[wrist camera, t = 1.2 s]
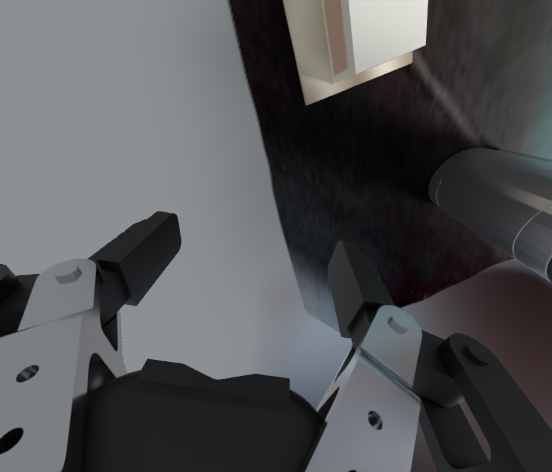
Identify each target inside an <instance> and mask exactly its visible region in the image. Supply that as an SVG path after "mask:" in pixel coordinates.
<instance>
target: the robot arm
mask: <svg viewBox="0 0 552 472" xmlns="http://www.w3.org/2000/svg"><path fill="white" fill-rule="evenodd" d="M428 195H429V198H430V200H431V201H432V202H433V203H434V204H436V205H437V206H439V207H440V208H441V209H443V210H444V211H446V212H447V213H449V214H450V215H451V216H453V217H454V218H456V219H457V220H459V221H460V222H462V223H463V224H465V225H466V226H468V227H469V228H471V229H472V230H474V231H475V232H477V233H478V234H480V235H481V236H483V237H484V238H486V239H487V240H489V241H490V242H492V243H493V244H495V245H496V246H498V247H499V248H501V249H502V250H503V251H505V252H506V253H508V254H509V255H511V256H512V257H514V258H515V259H517V260H518V261H520V262H522V263H523V264H525V265H526V266H527V267H529V268H531V269H532V270H533V271H535V272H536V273H538V274H539V275H541V276H542V277H544V278H545V279H547V280H548V281H550V282H552V160H550V159H546V158H541V157H536V156H531V155H526V154H522V153H517V152H512V151H507V150H502V149H501V150H498V151H497V150H492V149H487V148H480V147H478V148H470V149H467V150H463V151H461V152H459V153H457V154H455V155H453V156H452V157H450V158H449V159H447V160H446V161H445V162H444V163H443V164H442V165H441V166H440V167H439V168H438V169H437V170H436V172H435V173H434V175H433V176H432V178H431V180H430V183H429V187H428ZM180 247H181V235H180V229H179V222H178V217H177V215H176V214H174V213H168V212H162V211H157V212H156V213H154V214H153V215H152V216H151V217H149V218H148V219H147V220H146V219H145V220H143V221H140V222H138V223H135V224H133V225H132V226H131V227H129V228H128V229H127V230H125V232H123V233H121V234H120V235H119V236H117V238H115V239H113V240H112V241H111V242H109V243H108V244H107V245H105V246H104V247H103V248H101V249H100V250H99V251H98V252H96V253H95V254H93V255H92V256H91V257H90V258H88V259H74V260H68V261H64V262H61V263H58V264H56V265H54V266H52V267H50V268H48V269H46V270H45V271H44V272H42V273H41V274H32V275H19V276H15V275H14V274H13V273H12V271H11V270H10V269H9V268H8V267H7V266H6V265H3V264H0V472H410V471H411V464H412V458H413V451H414V445H415V439H416V432H417V425H418V420H419V423H420V425H421V428H422V431H423V433H424V436H425V439H426V442H427V444H428V447H429V450H430V453H431V456H432V458H433V461H434V464H435V467H436V470H437V472H552V429H551V428H550V427H549V425H548V424H547V423H546V422H545V420H544V419H543V418H542V416H541V415H540V414H539V413H538V411H537V410H536V408H535V407H534V406H533V405H532V403H531V402H530V401H529V399H527V397H526V395H525V394H524V393H523V391H522V390H521V389H520V388H519V387H518V385H517V384H516V382H515V381H514V380H513V378H512V377H511V376H510V375H509V373H508V372H507V371H506V369H505V368H504V367H503V366H502V364H501V363H500V362H499V360H498V359H497V358H496V357H495V355H494V354H493V353H492V352H491V351H490V350H488V349H487V348H486V347H485V346H484V345H482V344H481V343H479V342H478V341H476V340H475V339H473V338H471V337H469V336H466V335H464V334H459V333H455V334H452V335H451V336H450V337H448V338H447V339H446V340H444V339H442V338H439V337H437V336H435V335H432V334H430V333H428V332H425V331H423V330H421V329H420V327H419V325H418V324H417V322H416V321H415V320H414V319H413V318H412V317H411V316H410V315H409V314H408V313H407V312H405V311H404V310H402V309H400V308H398V307H395V305H394V303H393V301H392V299H391V297H390V295H389V293H388V291H387V290H386V288H385V286H384V284H383V282H382V280H380V276H379V274H378V273H377V270H376V268H375V266H374V264H373V262H372V261H371V260H369V259H368V258H367V257H366V256H365V255H363V254H361V253H360V250H359V248H358V246H357V244H356V243H352V242H346V241H339V242H338V243H337V246H336V248H335V251H334V253H333V256H332V258H331V260H330V263H329V266H328V278H329V282H330V287H331V292H332V296H333V301H334V305H335V310H336V315H337V319H338V324H339V329H340V333H341V337H346V338H351V340H352V343H353V345H352V346H351V348H350V350H349V351H348V353H347V355H346V357H345V359H344V361H343V363H342V365H341V367H340V369H339V370H338V372H337V374H336V376H335V378H334V380H333V382H332V383H331V385H330V387H329V389H328V390H327V392H326V394H325V395H324V397H323V398H322V400H321V402H320V403H319V405H318V407H317V409H316V410H315V409H314V407H312V405H311V404H310V403H309V402H307V401H306V400H305V399H304V398H303V397H302V396H300V395H299V394H297V393H295V392H294V391H292V390H290V388H289V387H290V379H289V378H282V377H274V376H268V375H261V374H251V375H245V376H239V377H233V378H226V379H220V380H217V379H213V378H211V377H209V376H207V375H205V374H203V373H201V372H199V371H197V370H194V369H193V368H190V367H189V366H187V365H185V364H181V363H173V362H167V361H159V360H152V359H147V361H146V362H145V364H144V366H143V368H142V369H141V370H139V371H135V372H131V373H128V374H127V372H126V368H125V364H124V361H123V355H122V332H121V313H120V311H119V310H120V308H121V307H122V306H123V305H124V304H127V305H133V306H137V305H138V304H139V302H140V301H141V300H142V298H143V297H144V296H145V294H146V293H147V292H148V290H149V289H150V288H151V287H152V285H153V284H154V283H155V281H156V280H157V279H158V277H159V276H160V275H161V274H162V272H163V271H164V270H165V268H166V267H167V266H168V265H169V263H170V262H171V261H172V259H173V258H174V257H175V255H176V254H177V253H178V251H179V249H180ZM464 400H465V401H466V403H467V404H468V406H469V408H470V410H471V412H472V413H473V415H474V417H475V419H476V421H477V423H478V425H479V426H480V428H481V430H482V432H483V434H484V436H485V437H486V439H487V441H488V444H489V446H490V450H491V460H490V462H489V461H488V459H487V457H486V455H485V453H484V451H483V449H482V448H481V446H480V444H479V442H478V440H477V438H476V436H475V434H474V432H473V430H472V429H471V426H470V424H469V422H468V421H467V419H466V417H465V415H464V413H463V411H462V409H461V407H460V405H459V403H460V402H462V401H464Z"/></svg>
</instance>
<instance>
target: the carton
mask: <svg viewBox="0 0 552 472" xmlns="http://www.w3.org/2000/svg"><path fill="white" fill-rule="evenodd" d="M321 4H322V10H323V17H324V24H325V30H326V37H327V44H328V51H329V57H330V64H331V71H332V78H333V84H335V83H337V82H340V81H342V80H345V79H347V78H349V77H352V76H354V75H357V74H359V73H361V72H364V71H366V70H368V69H371V68H373V67H376V66H378V65H380V64H383V63H385V62H387V61H390V60H392V59H394V58H397V57H399V56H401V55H404V54H406V53H408V52H411V51H413V50H415V49H418V48H420V47H422V46H425V45H426V25H427V6H428V0H321Z"/></svg>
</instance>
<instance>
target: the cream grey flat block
mask: <svg viewBox="0 0 552 472" xmlns="http://www.w3.org/2000/svg"><path fill="white" fill-rule="evenodd" d="M282 1H283V5H284V10H285V14H286V19H287V23H288V28H289V32H290V37H291V41H292V46H293V50H294V55H295V59H296V64H297V68H298V73H299V78H300V82H301V87H302V91H303V96H304V100H305V105H306V106H307V105H309V104H312V103H314V102H317V101H319V100H321V99H324V98H326V97H329V96H331V95H334V94H336V93H339V92H341V91H344V90H346V89H349V88H351V87H353V86H356V85H358V84H361V83H363V82H366V81H368V80H371V79H373V78H376V77H378V76H381V75H383V74H385V73H388V72H390V71H393V70H395V69H398V68H400V67H403V66H405V65H408V64H410V63H412V51H411V52H408V53H406V54H404V55H401V56H399V57H397V58H394V59H392V60H390V61H387V62H385V63H383V64H380V65H378V66H376V67H373V68H371V69H368V70H366V71H364V72H361V73H359V74H357V75H354V76H352V77H349V78H347V79H345V80H342V81H340V82H337V83H335V84H333V78H332V71H331V64H330V57H329V51H328V44H327V37H326V30H325V24H324V17H323V10H322V4H321V0H282Z"/></svg>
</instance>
